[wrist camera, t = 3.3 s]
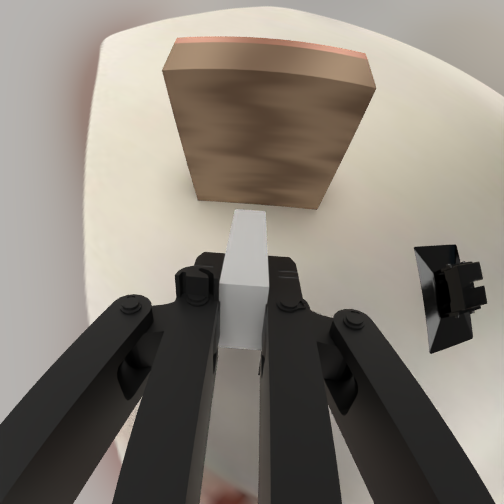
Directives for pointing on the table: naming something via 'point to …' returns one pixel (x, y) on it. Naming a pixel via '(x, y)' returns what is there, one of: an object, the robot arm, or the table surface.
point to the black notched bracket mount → (448, 294)
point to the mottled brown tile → (265, 115)
